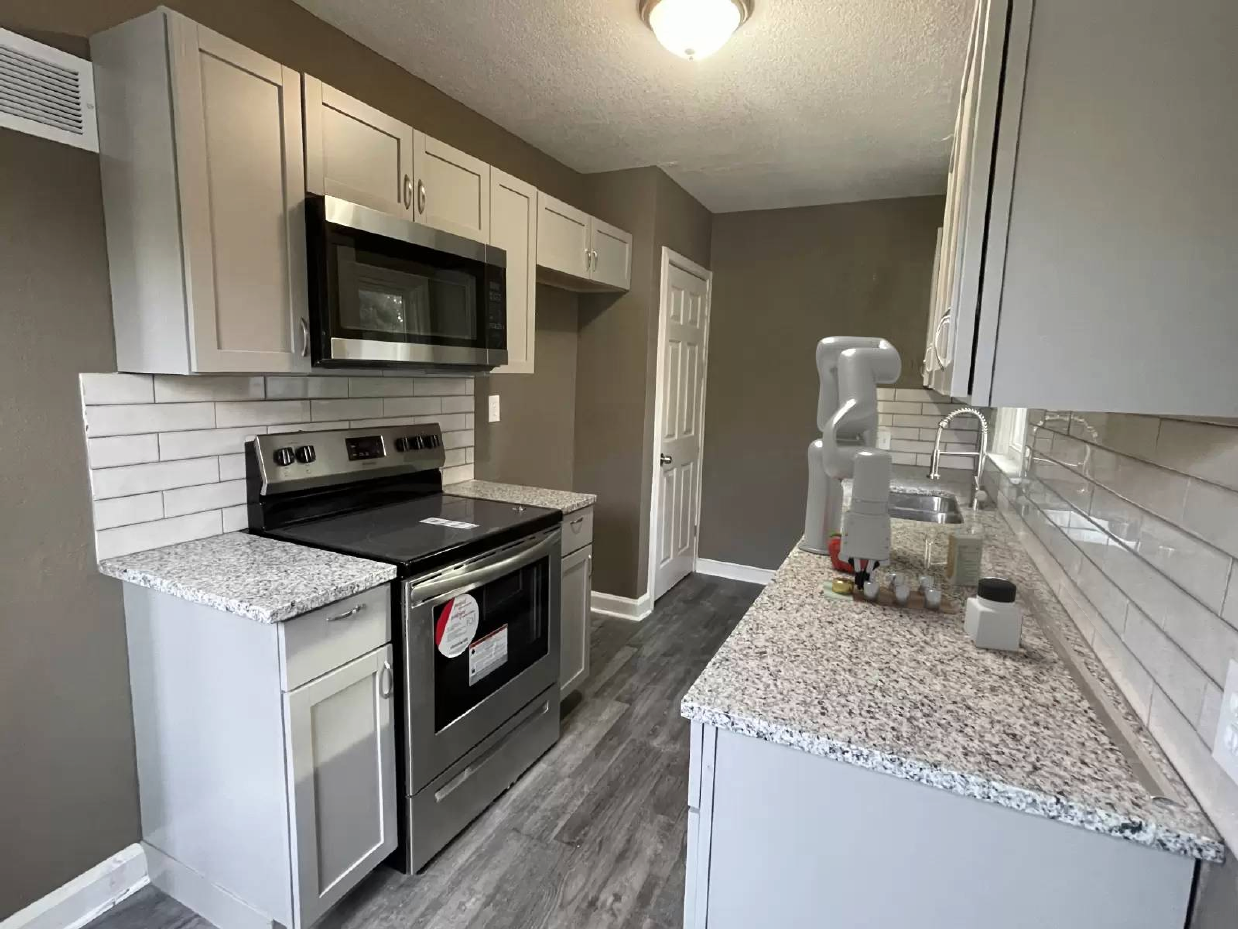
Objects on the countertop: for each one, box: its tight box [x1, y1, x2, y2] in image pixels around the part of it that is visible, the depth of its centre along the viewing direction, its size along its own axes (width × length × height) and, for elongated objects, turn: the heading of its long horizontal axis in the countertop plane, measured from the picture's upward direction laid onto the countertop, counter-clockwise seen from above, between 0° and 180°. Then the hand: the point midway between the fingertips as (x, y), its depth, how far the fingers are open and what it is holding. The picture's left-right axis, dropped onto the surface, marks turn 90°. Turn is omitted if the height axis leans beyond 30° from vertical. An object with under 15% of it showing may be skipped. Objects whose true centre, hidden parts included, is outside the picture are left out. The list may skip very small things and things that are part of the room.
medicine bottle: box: [963, 576, 1024, 653], centre depth 115 cm, size 7×7×12 cm
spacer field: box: [862, 569, 942, 611], centre depth 137 cm, size 12×15×4 cm
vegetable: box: [828, 532, 867, 574], centre depth 157 cm, size 11×10×10 cm
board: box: [822, 579, 958, 616], centre depth 138 cm, size 13×26×1 cm, turn 72°
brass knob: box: [832, 577, 854, 595], centre depth 139 cm, size 4×4×2 cm
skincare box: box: [944, 533, 984, 588], centre depth 149 cm, size 6×4×12 cm
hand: (861, 588), depth 139 cm, fingers closed
